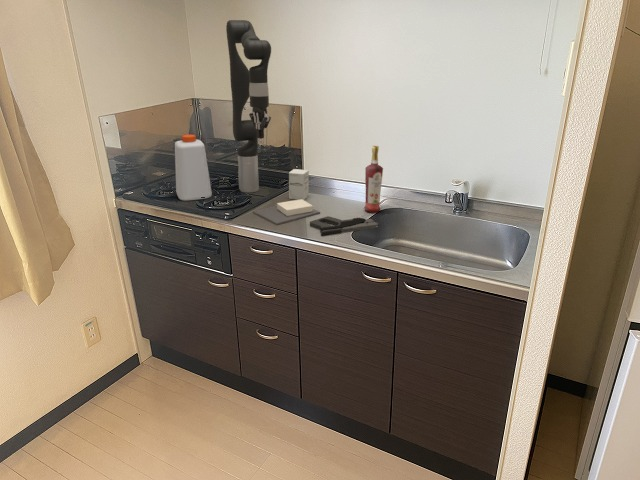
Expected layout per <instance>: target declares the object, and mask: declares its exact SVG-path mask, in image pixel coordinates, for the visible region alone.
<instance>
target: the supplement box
mask: <svg viewBox="0 0 640 480" xmlns="http://www.w3.org/2000/svg"><path fill="white" fill-rule="evenodd" d="M309 171H310V170H309V169H300V168H299V169H297V168H293V169H292V170H291V171H289V172H288V198H289V200H300V199H303V200H304V201H306V199H307V198H308V197H309V185H310V183H309V179H310V177H309V176H310V175H309V174H310V173H309Z"/></svg>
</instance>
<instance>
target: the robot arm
mask: <svg viewBox="0 0 640 480" xmlns="http://www.w3.org/2000/svg"><path fill="white" fill-rule="evenodd" d="M225 30H226V32H225V33H226V39H227V48H228V55H229V56H228V57H229V71H230V72H229V73H230V89H231V101H232V104H231V105H232V135H233V138H234V140H235V141H236V142H245V141H246V144H244V145H243V146H241V147H239V148H238V149H237V163H238V170H237V176H238V188H239V192H242V193H255V192H258V191H259V190H260V186H259V185H260V184H259V183H260V182H259V181H260V180H259V179H260V178H259V162H258V161H259V160H258V158H259V157H258V148H259V147H258V146H259V143H258V142H259V140H260V139H261V140H262V139H264V138H265V129H267V128H268V126H269V124H270V122H271V120H272V117H271V116H268V109H267V108H268V107H269V106H270V99H269V83H268V68H269V63H270V58H271V55H272V45H271V44H270V41H268V40H266V39H260V38H259V37H258V36H257V35H256V31H255V28H254V26H253V24H252V22H250V21H249V20H245V19H243V20H242V19H230V20H228V21H226V29H225ZM236 44H241V46H242V48H243V55H244V57H245V58H246V60H250V61H256V60H257V61H260V60H261V61H260V63H259V64H257V65H255V66H251V67H250V68H249V69H248V67H247V65H246V64H245V62H244V61H243V59H242V57H241V56H240V54H239V52H238V48H237V45H236ZM248 100H249V106H250V108H252V110H251V111H252V112H250V113H249V118H250V119H246V120H245V119H243V120H242V116H243V111H244V108H245V106H246V104H247V103H248ZM258 139H259V140H258Z"/></svg>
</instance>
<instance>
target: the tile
mask: <svg viewBox="0 0 640 480" xmlns="http://www.w3.org/2000/svg"><path fill="white" fill-rule="evenodd" d="M276 206H277V209H278V210H279V211H281V212H282V213H284V214H285V215H286V216H291V215H297V214H303V213H308V212H312V211H313V209H314V208H313V207H314V206H313V205H312V204H311V203H309V202H308V201H306V200H303V199H300V200H297V199H293V200H289V201H282V202H277V203H276Z"/></svg>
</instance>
